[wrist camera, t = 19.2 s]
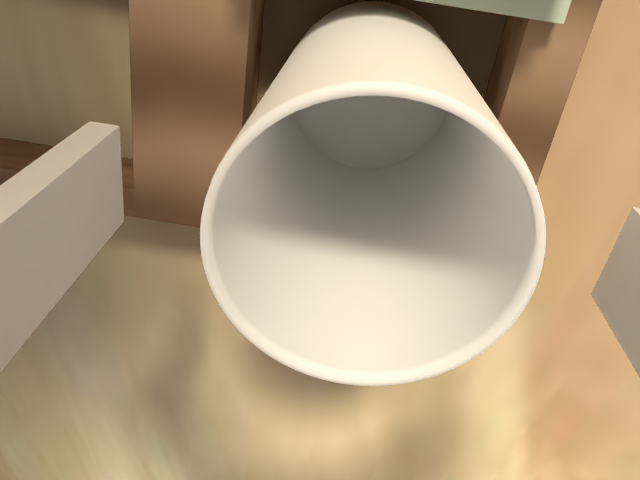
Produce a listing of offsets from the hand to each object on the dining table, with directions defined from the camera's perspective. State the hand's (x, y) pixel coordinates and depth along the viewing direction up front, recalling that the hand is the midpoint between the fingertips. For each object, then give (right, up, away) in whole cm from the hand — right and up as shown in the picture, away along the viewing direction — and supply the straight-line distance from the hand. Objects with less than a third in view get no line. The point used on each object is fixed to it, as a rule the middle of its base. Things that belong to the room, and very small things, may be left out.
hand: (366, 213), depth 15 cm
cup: (+1, +7, +13) cm, 15 cm away
